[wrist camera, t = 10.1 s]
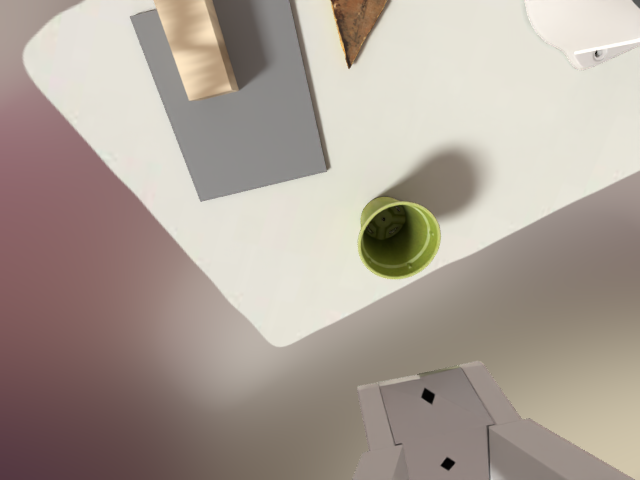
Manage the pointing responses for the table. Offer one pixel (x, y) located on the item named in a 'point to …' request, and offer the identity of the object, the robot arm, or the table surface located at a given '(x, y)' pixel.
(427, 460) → the robot arm
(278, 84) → the rubber mat
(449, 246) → the table surface
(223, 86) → the birch block
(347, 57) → the shard
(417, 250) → the plant pot
